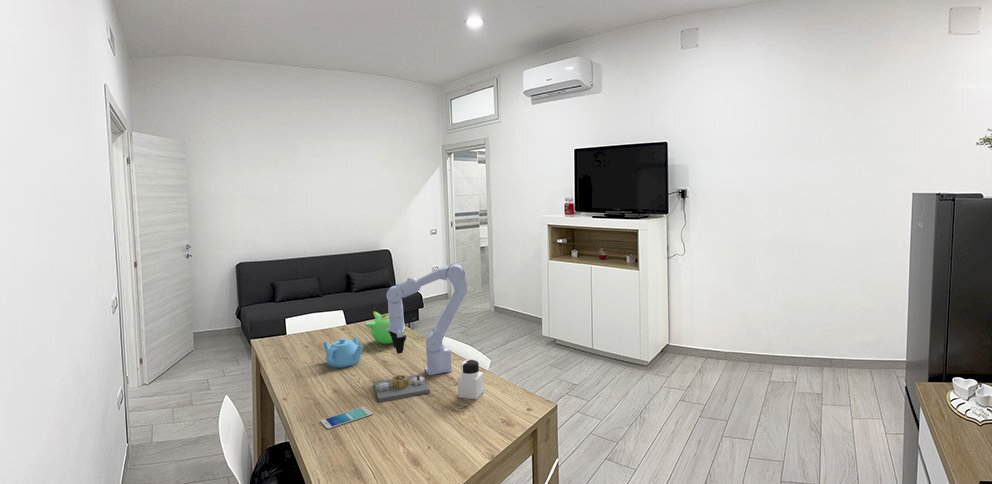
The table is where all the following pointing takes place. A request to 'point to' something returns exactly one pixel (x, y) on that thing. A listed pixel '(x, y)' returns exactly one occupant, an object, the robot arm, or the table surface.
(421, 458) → the table surface
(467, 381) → the medicine bottle
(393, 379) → the brass gear
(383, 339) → the toy bird
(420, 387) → the gear board
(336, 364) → the teapot
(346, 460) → the table surface
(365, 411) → the smartphone
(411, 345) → the table surface
